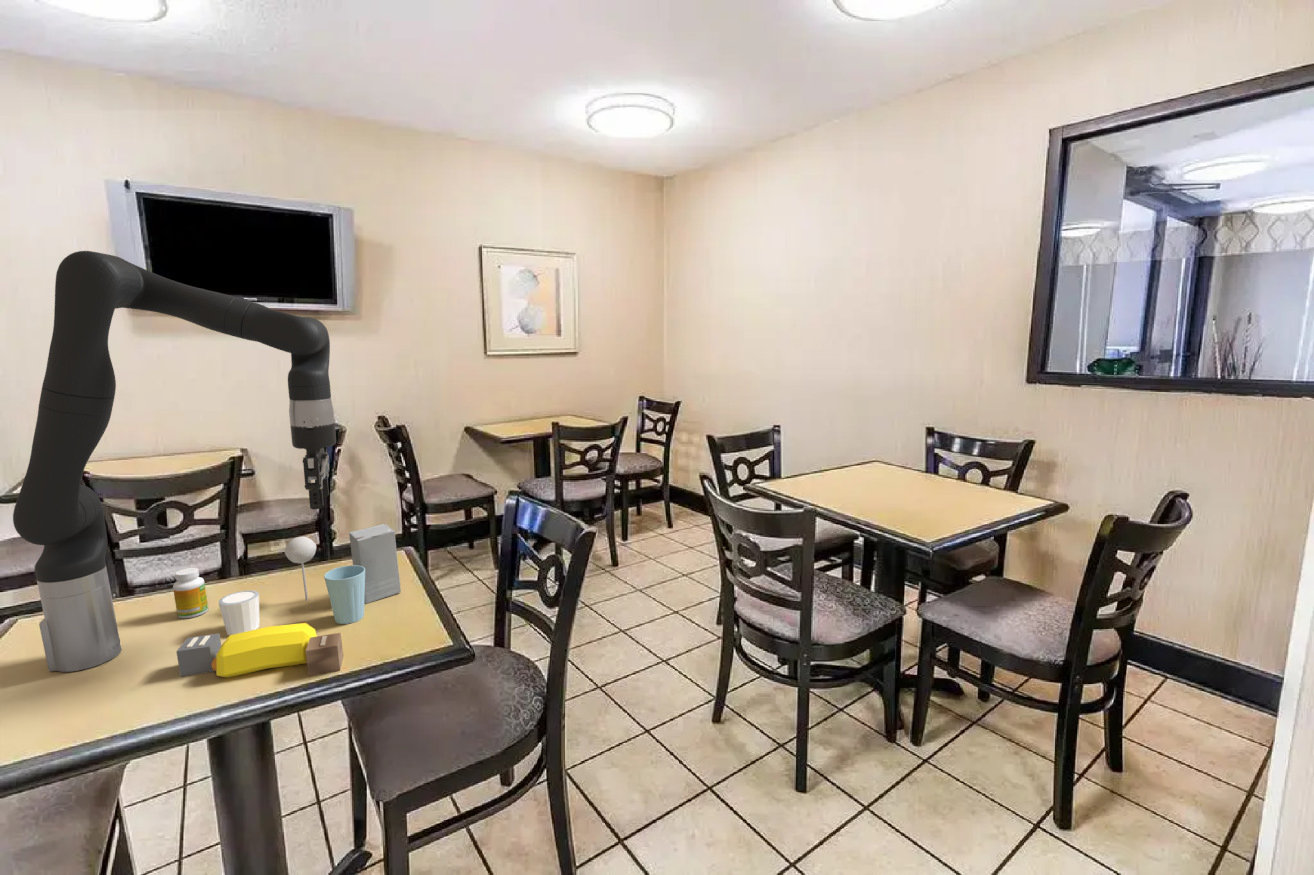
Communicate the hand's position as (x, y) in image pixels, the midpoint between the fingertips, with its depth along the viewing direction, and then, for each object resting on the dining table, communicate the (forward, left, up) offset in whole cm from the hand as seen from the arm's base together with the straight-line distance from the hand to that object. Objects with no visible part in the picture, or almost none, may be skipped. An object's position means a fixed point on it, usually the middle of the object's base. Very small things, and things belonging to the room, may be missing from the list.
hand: (320, 502), depth 121 cm
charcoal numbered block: (-21, -8, -27) cm, 35 cm away
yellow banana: (-9, -11, -27) cm, 31 cm away
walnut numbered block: (+1, -16, -27) cm, 31 cm away
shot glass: (-17, +6, -27) cm, 33 cm away
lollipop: (-7, +16, -27) cm, 32 cm away
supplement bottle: (-29, +18, -27) cm, 44 cm away
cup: (+3, +3, -27) cm, 27 cm away
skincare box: (+8, +13, -27) cm, 31 cm away
